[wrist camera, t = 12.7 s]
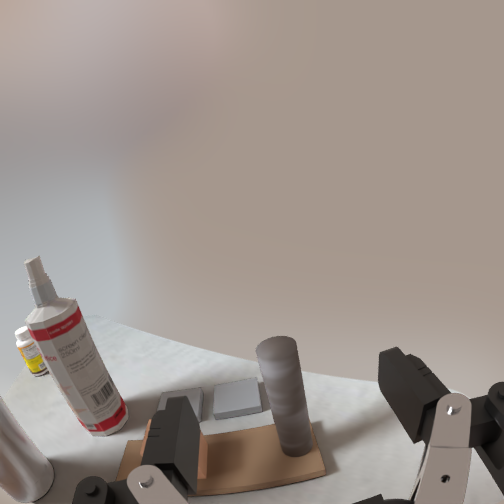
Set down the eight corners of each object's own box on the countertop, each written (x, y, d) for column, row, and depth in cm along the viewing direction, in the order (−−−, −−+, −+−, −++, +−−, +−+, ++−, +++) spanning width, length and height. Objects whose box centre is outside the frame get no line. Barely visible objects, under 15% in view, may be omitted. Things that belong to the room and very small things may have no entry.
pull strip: (118, 494, 22) (45, 403, 19) (131, 446, 30) (78, 356, 27) (325, 474, 23) (313, 370, 19) (309, 422, 31) (291, 318, 27)
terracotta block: (160, 480, 24) (139, 453, 22) (166, 447, 29) (148, 419, 27) (206, 478, 24) (189, 450, 23) (207, 444, 29) (193, 415, 27)
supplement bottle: (35, 366, 53) (16, 327, 50) (53, 361, 55) (34, 321, 52) (30, 379, 48) (8, 337, 45) (49, 374, 49) (28, 331, 47)
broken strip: (158, 426, 34) (154, 420, 34) (164, 398, 40) (161, 392, 40) (262, 411, 34) (260, 405, 34) (258, 383, 40) (256, 377, 40)
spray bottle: (133, 402, 40) (68, 244, 33) (123, 435, 33) (38, 259, 26) (92, 404, 39) (26, 257, 33) (78, 435, 32) (-6, 273, 26)
